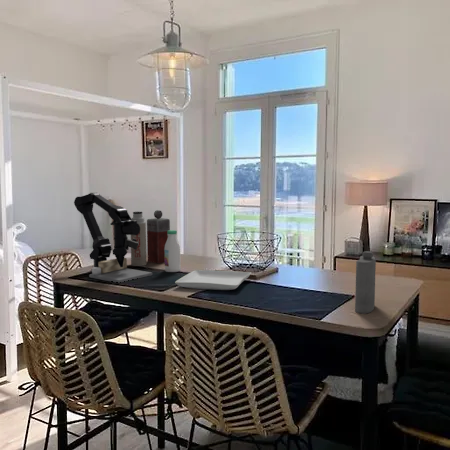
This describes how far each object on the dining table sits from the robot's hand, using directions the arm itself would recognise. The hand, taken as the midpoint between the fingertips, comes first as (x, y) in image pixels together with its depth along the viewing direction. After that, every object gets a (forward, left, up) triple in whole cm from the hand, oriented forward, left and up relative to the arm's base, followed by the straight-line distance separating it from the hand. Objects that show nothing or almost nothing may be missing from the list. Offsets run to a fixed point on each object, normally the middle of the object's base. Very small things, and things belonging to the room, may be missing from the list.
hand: (121, 266), depth 226 cm
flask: (+116, +10, -4) cm, 116 cm away
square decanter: (-10, +34, -3) cm, 36 cm away
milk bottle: (+15, +19, -3) cm, 25 cm away
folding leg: (-4, -2, -2) cm, 5 cm away
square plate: (+49, +9, -4) cm, 50 cm away
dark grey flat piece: (+3, -4, -3) cm, 6 cm away
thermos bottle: (-11, +21, -3) cm, 24 cm away
